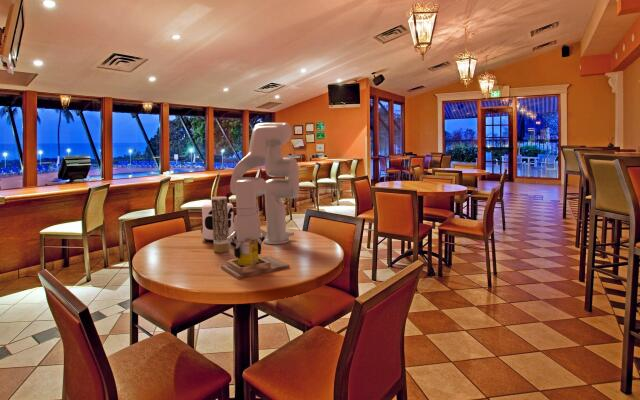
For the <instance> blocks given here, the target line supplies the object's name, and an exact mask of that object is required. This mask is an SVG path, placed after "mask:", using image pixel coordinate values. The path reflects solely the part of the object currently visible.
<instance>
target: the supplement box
mask: <svg viewBox="0 0 640 400" xmlns="http://www.w3.org/2000/svg"><path fill="white" fill-rule="evenodd" d="M237 242H238V241H237ZM239 248H240V258H239V259H238V258H237V259H238V266H240V267H246V266H251V265H256V264H259V261H258V257H259V254H258V241H257V240H255V239H249V240H245V241H244V242H241V244H240V246H239Z"/></svg>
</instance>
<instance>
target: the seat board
mask: <svg viewBox="0 0 640 400" xmlns="http://www.w3.org/2000/svg"><path fill="white" fill-rule="evenodd" d="M258 261H259V264H256V265H251V266H246V267H240V266H238V258H233V259H227V260H225V263H226V264H222V265H220V268H221V269H222V270H223V271H225V272H226V273H227V274H229V275H231V276H233V277H234V278H236V279H237V280H241V279H245V278H249V277H253V276H258V275H262V274H267V273H272V272H276V271H277V272H278V271H280V270H284V269H290V264H288V263H286V262H284V261H282V260H279V259H278V258H276V257H273V256H272V255H268V256H262V257H261V256H258Z"/></svg>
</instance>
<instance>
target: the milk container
mask: <svg viewBox="0 0 640 400" xmlns="http://www.w3.org/2000/svg"><path fill="white" fill-rule="evenodd" d="M227 210H228V234H229V236H230V235H231V234H232V233H233V223H234V206H233V204H232V203H229V202H227ZM201 213H202V214H201V215H202V225H201V229H200V231H201V232H200V233H201V237H202V239H203V240H205V241H208V242H214V240H213V219H212V202H211V203H206V204H203V205H202V206H201Z"/></svg>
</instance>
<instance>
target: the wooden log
mask: <svg viewBox="0 0 640 400" xmlns="http://www.w3.org/2000/svg"><path fill="white" fill-rule="evenodd" d="M211 203H212V219H213V240H214V241H213V251H214V252H215V253H218V254H219V253H220V254H221V253H227V252H229V250H230V243H229V242H228V241H227V237H228V236H229V234H228V210H227V203H228V197H227V196H212V197H211Z"/></svg>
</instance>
